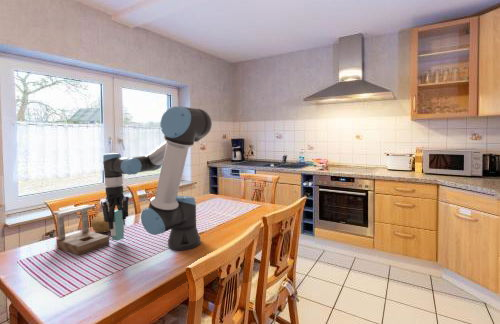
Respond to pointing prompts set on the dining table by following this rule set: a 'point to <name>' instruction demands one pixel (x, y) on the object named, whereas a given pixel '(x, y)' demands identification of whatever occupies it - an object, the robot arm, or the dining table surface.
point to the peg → (118, 225)
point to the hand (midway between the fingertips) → (117, 233)
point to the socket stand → (81, 240)
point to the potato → (100, 224)
